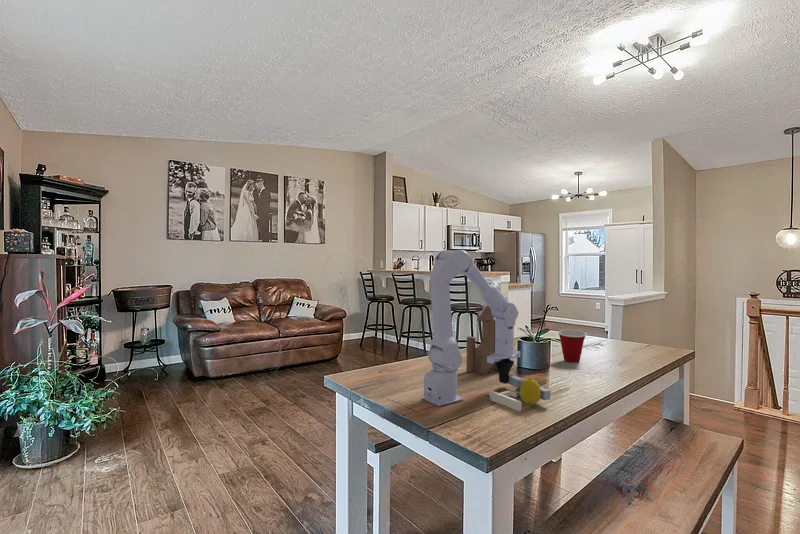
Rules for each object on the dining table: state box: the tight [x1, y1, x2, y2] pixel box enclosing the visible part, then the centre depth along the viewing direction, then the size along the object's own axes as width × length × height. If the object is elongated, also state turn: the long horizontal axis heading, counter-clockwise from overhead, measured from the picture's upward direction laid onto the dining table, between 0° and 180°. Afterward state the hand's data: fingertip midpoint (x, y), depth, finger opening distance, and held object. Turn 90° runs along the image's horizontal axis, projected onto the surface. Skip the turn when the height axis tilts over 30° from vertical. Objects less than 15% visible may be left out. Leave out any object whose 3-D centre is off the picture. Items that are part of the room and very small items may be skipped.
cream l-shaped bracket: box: [488, 389, 522, 412], centre depth 118 cm, size 9×11×2 cm
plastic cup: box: [557, 329, 588, 363], centre depth 166 cm, size 11×11×12 cm
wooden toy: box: [465, 304, 498, 376], centre depth 151 cm, size 16×7×25 cm, turn 119°
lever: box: [507, 371, 551, 401], centre depth 124 cm, size 4×20×3 cm, turn 22°
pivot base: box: [514, 387, 522, 399], centre depth 124 cm, size 5×5×2 cm
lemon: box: [520, 377, 541, 407], centre depth 116 cm, size 6×6×8 cm
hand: (503, 382), depth 130 cm, fingers closed, pressing on lever
